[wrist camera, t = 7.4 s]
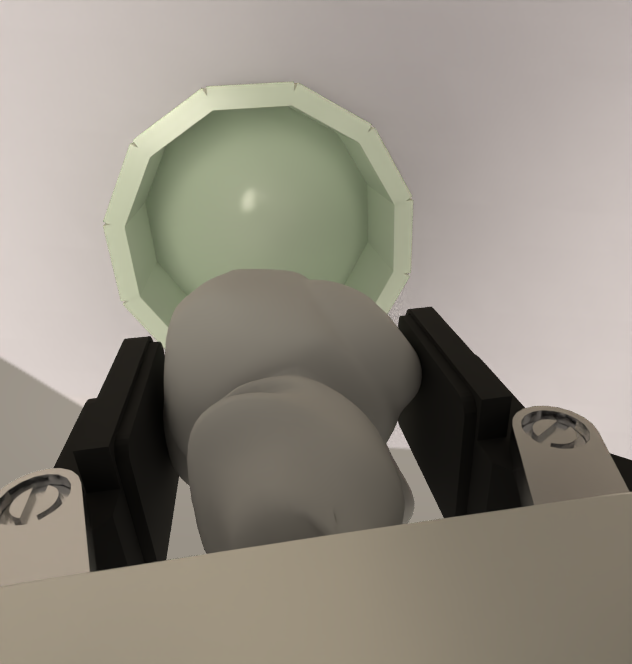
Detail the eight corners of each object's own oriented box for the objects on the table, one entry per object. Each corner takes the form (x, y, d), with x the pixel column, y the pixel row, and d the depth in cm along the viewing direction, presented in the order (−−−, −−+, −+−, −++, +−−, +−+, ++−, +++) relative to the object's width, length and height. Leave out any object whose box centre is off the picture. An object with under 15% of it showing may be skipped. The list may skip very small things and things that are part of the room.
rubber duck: (292, 185, 11) (399, 362, 4) (441, 381, 14) (666, 699, 7) (110, 332, 12) (-87, 706, 5) (285, 489, 15) (331, 874, 7)
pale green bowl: (110, 93, 23) (71, 94, 18) (378, 78, 24) (417, 74, 19) (161, 337, 29) (143, 394, 23) (377, 315, 30) (407, 364, 25)
